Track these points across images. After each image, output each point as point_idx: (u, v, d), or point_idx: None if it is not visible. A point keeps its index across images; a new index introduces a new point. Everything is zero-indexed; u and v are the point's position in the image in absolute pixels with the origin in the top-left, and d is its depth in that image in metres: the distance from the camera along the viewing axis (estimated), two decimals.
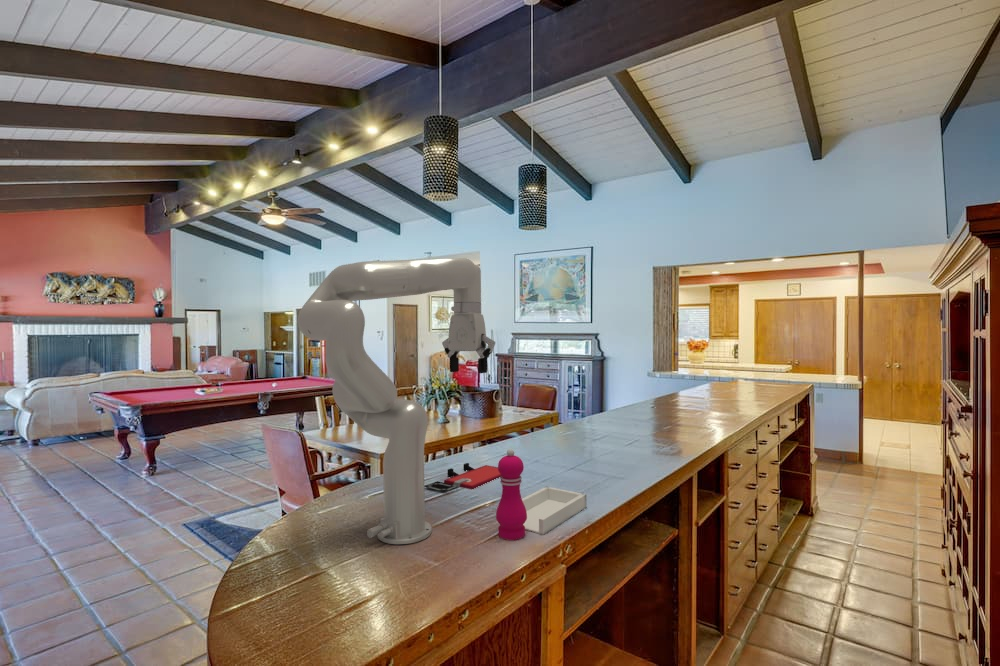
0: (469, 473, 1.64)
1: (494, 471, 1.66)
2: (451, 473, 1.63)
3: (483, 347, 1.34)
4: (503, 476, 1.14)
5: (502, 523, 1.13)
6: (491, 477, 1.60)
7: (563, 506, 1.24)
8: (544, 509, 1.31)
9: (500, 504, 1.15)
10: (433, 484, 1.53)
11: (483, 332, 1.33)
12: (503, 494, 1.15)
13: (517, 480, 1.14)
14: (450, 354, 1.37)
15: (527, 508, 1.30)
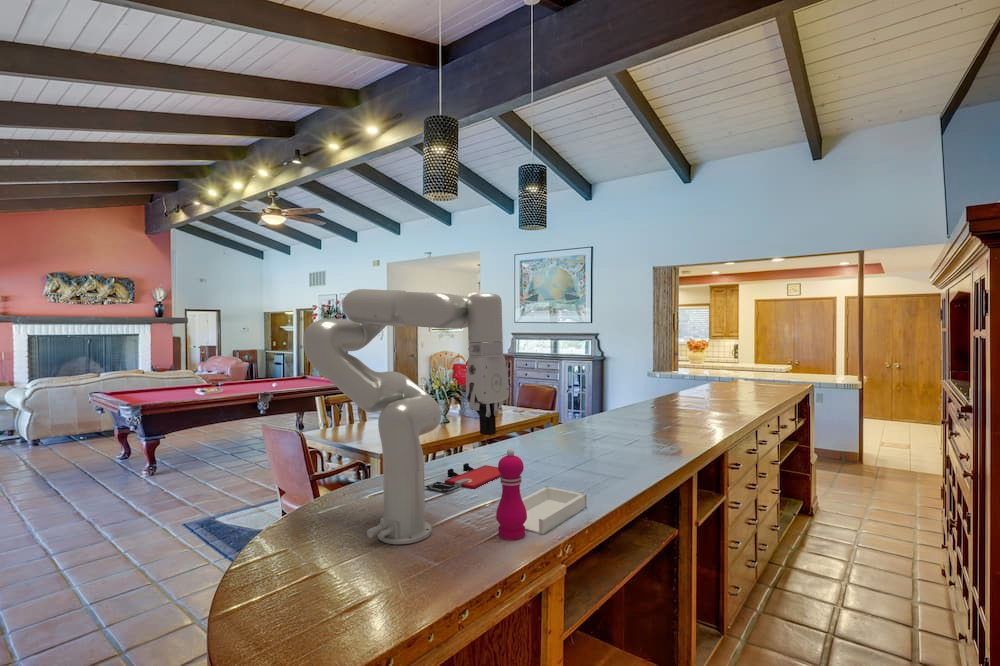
0: (470, 473, 1.64)
1: (494, 471, 1.66)
2: (451, 473, 1.63)
3: None
4: (503, 476, 1.14)
5: (502, 523, 1.13)
6: (492, 477, 1.60)
7: (563, 506, 1.24)
8: (544, 509, 1.31)
9: (500, 504, 1.15)
10: (434, 484, 1.53)
11: None
12: (503, 494, 1.15)
13: (517, 480, 1.14)
14: (489, 412, 1.07)
15: (527, 508, 1.30)
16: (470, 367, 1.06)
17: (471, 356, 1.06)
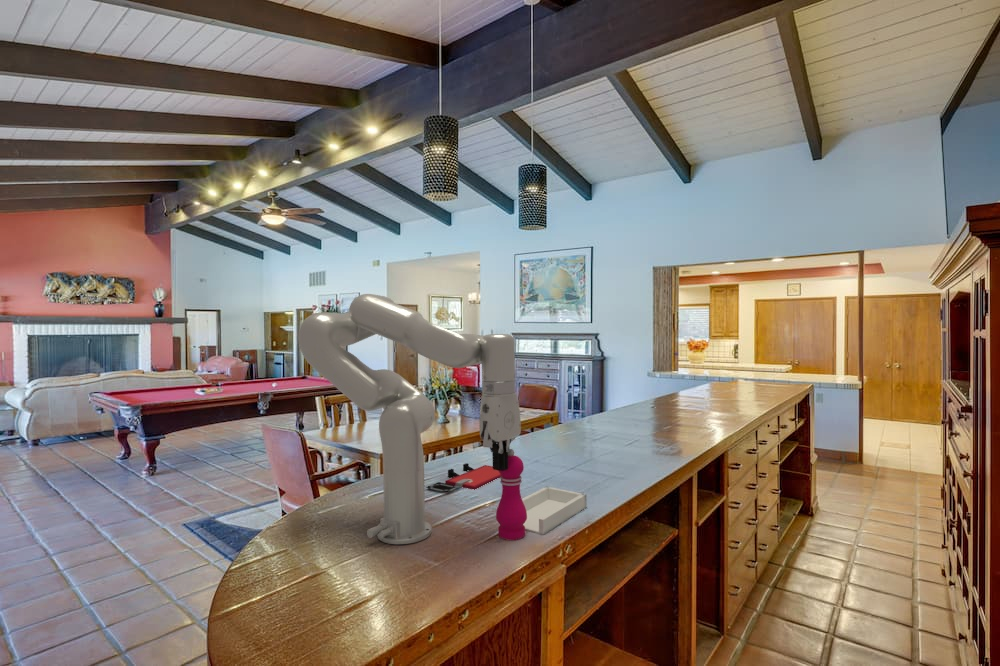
0: (470, 473, 1.64)
1: (494, 471, 1.66)
2: (451, 474, 1.62)
3: None
4: (503, 476, 1.14)
5: (502, 523, 1.13)
6: (492, 477, 1.59)
7: (563, 506, 1.24)
8: (544, 509, 1.31)
9: (500, 504, 1.15)
10: (435, 485, 1.52)
11: None
12: (503, 494, 1.15)
13: (517, 480, 1.14)
14: (502, 449, 1.11)
15: (527, 508, 1.30)
16: (484, 405, 1.10)
17: (485, 395, 1.10)
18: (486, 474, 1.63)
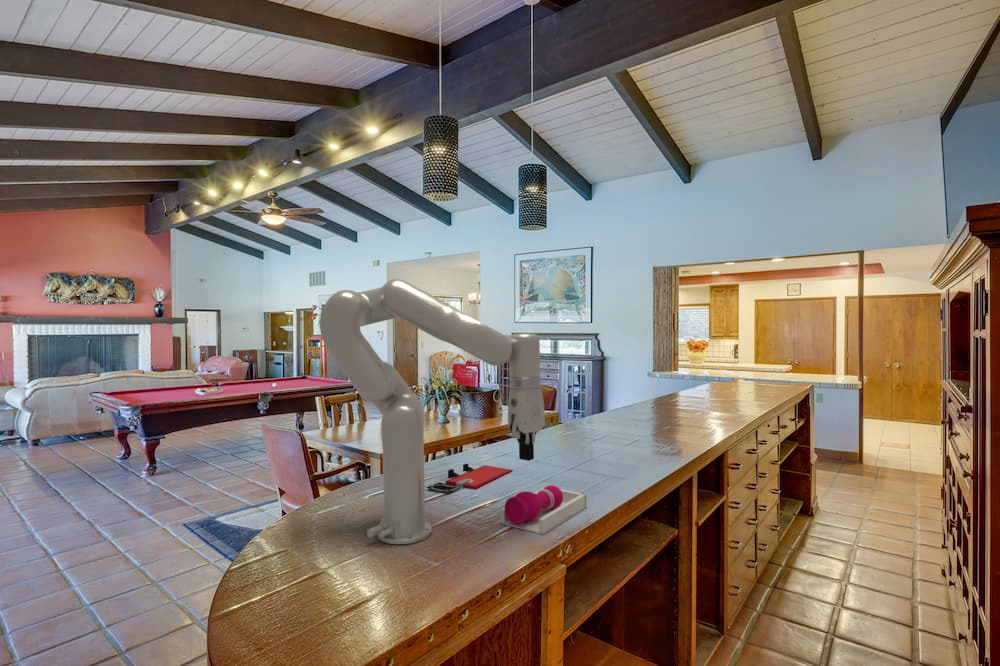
0: (470, 473, 1.64)
1: (494, 471, 1.66)
2: (452, 474, 1.62)
3: None
4: None
5: (518, 493, 1.24)
6: (492, 477, 1.59)
7: (563, 506, 1.24)
8: None
9: None
10: (435, 485, 1.52)
11: None
12: None
13: (551, 494, 1.29)
14: (528, 440, 1.20)
15: None
16: (512, 400, 1.18)
17: (512, 390, 1.19)
18: (486, 474, 1.63)
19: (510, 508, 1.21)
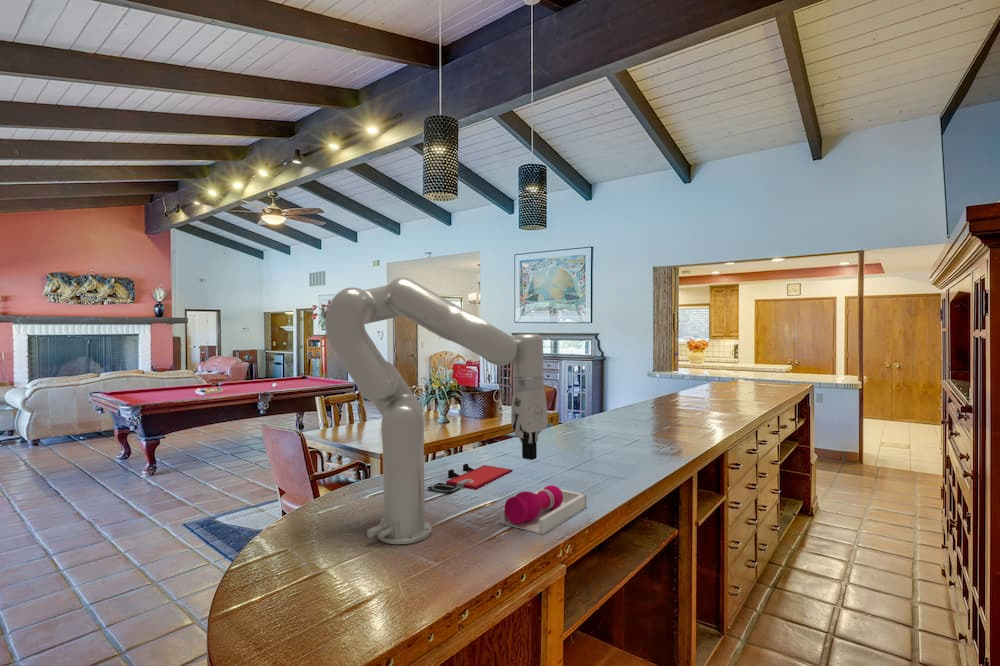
0: (470, 473, 1.64)
1: (494, 471, 1.66)
2: (452, 474, 1.62)
3: None
4: None
5: (518, 493, 1.24)
6: (493, 477, 1.59)
7: (563, 506, 1.24)
8: None
9: None
10: (436, 486, 1.52)
11: None
12: None
13: (551, 494, 1.29)
14: (532, 439, 1.21)
15: None
16: (515, 399, 1.19)
17: (516, 390, 1.20)
18: (486, 474, 1.63)
19: (510, 508, 1.21)
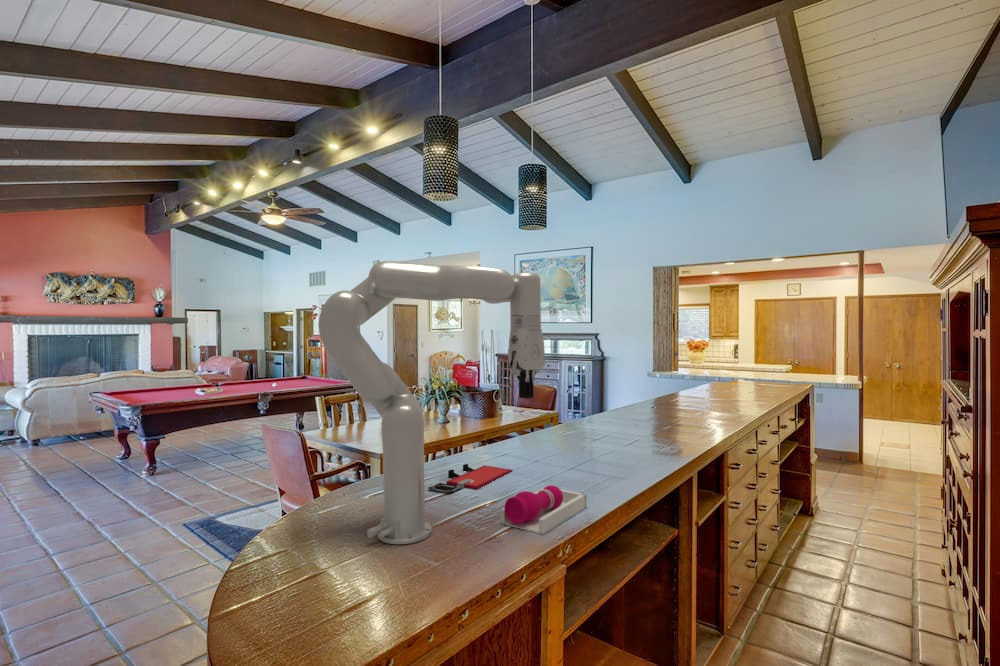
0: (470, 473, 1.63)
1: (494, 471, 1.66)
2: (452, 474, 1.62)
3: None
4: None
5: (518, 493, 1.24)
6: (493, 477, 1.59)
7: (563, 506, 1.24)
8: None
9: None
10: (436, 486, 1.51)
11: None
12: None
13: (551, 494, 1.29)
14: (528, 378, 1.21)
15: None
16: (512, 337, 1.20)
17: (513, 328, 1.20)
18: (487, 474, 1.63)
19: (510, 508, 1.21)
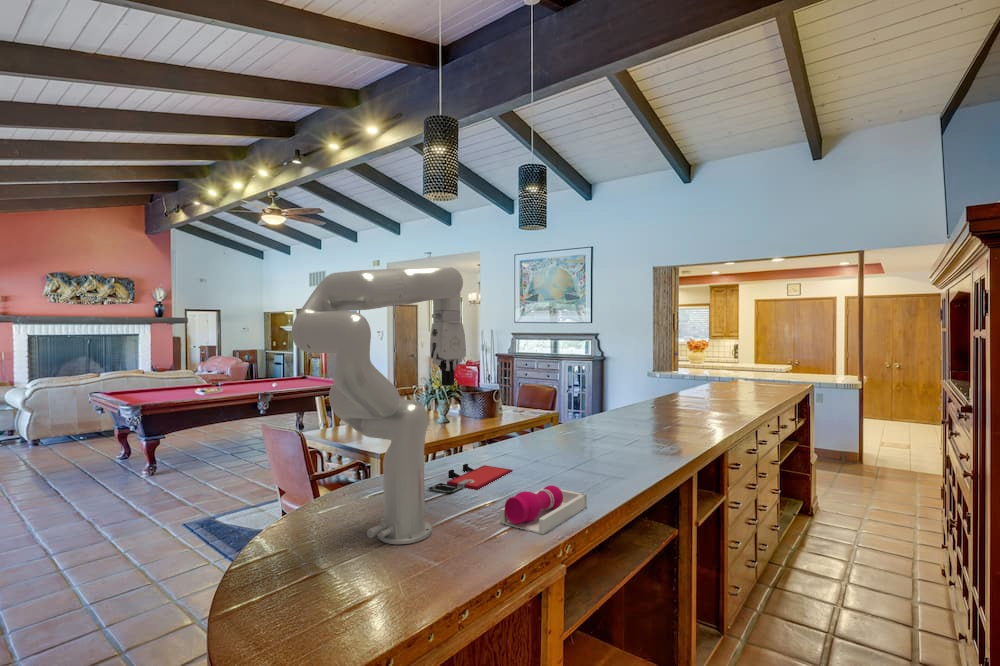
0: (470, 473, 1.63)
1: (494, 471, 1.66)
2: (452, 474, 1.61)
3: None
4: None
5: (518, 493, 1.24)
6: (493, 477, 1.59)
7: (563, 506, 1.24)
8: None
9: None
10: (437, 486, 1.51)
11: None
12: None
13: (551, 494, 1.29)
14: (449, 367, 1.34)
15: None
16: (433, 330, 1.33)
17: (434, 322, 1.33)
18: (487, 474, 1.63)
19: (510, 508, 1.21)
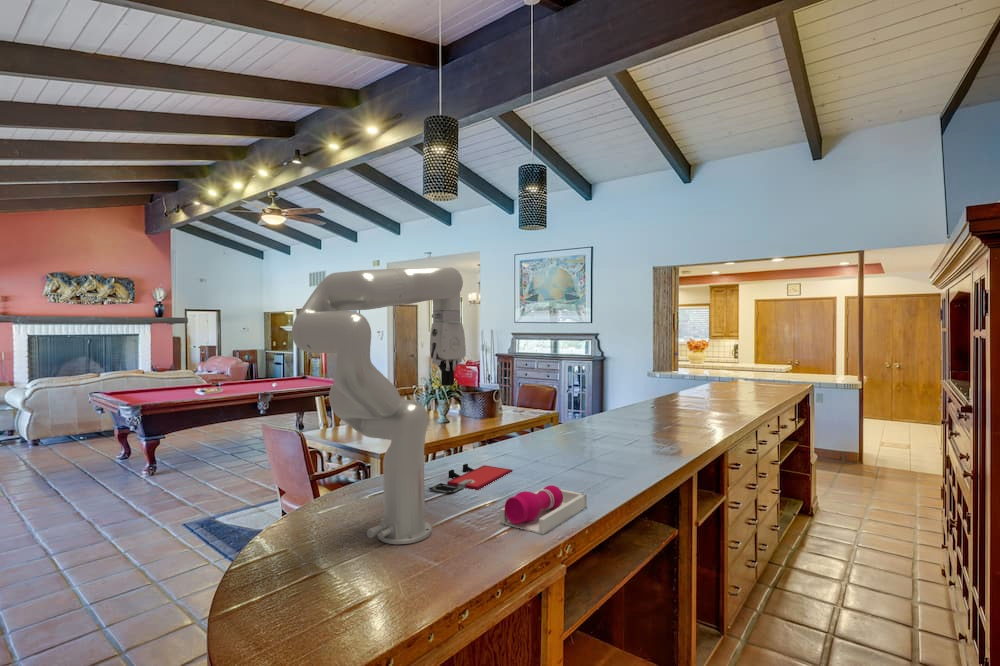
0: (470, 474, 1.63)
1: (494, 471, 1.66)
2: (452, 474, 1.61)
3: None
4: None
5: (518, 493, 1.24)
6: (494, 477, 1.59)
7: (563, 506, 1.24)
8: None
9: None
10: (437, 486, 1.51)
11: None
12: None
13: (551, 494, 1.29)
14: (449, 367, 1.34)
15: None
16: (433, 331, 1.33)
17: (434, 322, 1.33)
18: (487, 474, 1.63)
19: (510, 508, 1.21)
